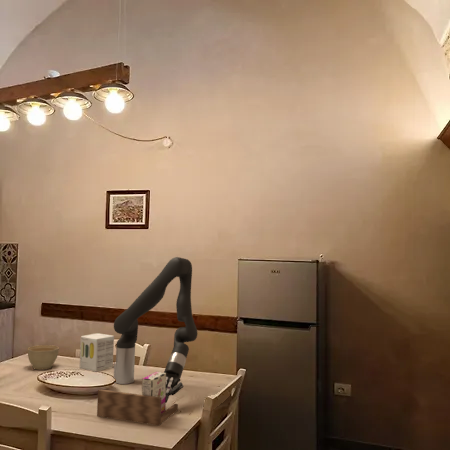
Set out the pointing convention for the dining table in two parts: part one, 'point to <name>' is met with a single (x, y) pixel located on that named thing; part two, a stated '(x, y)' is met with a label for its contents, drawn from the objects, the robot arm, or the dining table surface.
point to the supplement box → (96, 352)
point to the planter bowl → (42, 356)
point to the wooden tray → (132, 407)
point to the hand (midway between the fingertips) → (162, 403)
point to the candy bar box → (155, 387)
